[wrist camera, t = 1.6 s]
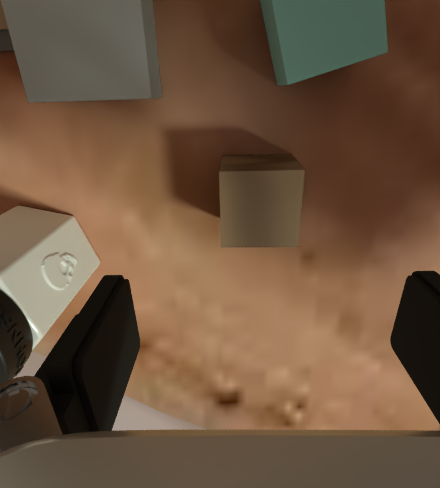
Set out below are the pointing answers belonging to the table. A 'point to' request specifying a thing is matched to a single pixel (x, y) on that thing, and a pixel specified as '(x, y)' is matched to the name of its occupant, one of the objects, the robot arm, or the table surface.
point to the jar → (37, 278)
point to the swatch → (4, 33)
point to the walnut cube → (260, 200)
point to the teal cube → (322, 35)
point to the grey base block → (85, 49)
